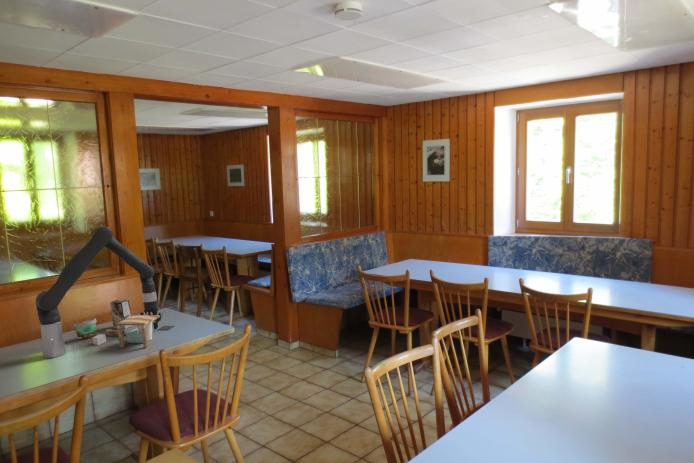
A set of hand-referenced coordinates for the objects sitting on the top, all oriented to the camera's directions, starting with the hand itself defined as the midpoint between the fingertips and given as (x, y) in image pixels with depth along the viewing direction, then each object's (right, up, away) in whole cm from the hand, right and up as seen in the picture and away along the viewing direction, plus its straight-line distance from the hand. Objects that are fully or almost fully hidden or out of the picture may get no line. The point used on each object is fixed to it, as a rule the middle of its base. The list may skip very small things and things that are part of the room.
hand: (153, 328), depth 286 cm
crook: (+2, -2, -10) cm, 10 cm away
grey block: (-22, -5, -17) cm, 29 cm away
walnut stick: (-20, -3, -4) cm, 21 cm away
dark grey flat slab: (+7, 0, +2) cm, 7 cm away
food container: (-34, -4, -7) cm, 35 cm away
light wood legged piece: (+2, -3, -21) cm, 22 cm away
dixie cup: (+3, -3, -16) cm, 17 cm away
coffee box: (-22, -1, +10) cm, 25 cm away
